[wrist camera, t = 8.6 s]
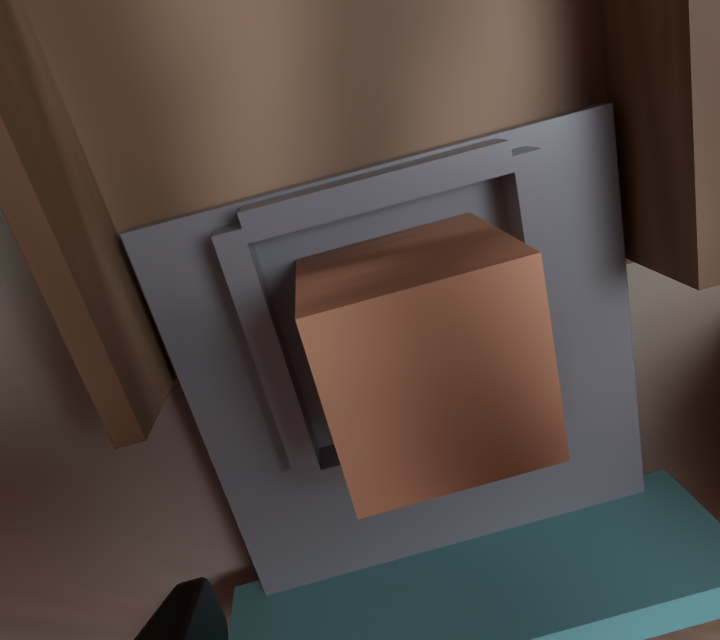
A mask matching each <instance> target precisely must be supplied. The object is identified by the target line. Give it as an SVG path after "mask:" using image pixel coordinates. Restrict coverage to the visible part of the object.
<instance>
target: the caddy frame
mask: <svg viewBox="0 0 720 640" xmlns="http://www.w3.org/2000/svg"><path fill="white" fill-rule="evenodd" d="M597 103H613V114H614V126H615V138H616V150H617V162H618V174H619V186H620V198H621V211H622V223H623V235H624V247H625V259H626V264H629V263H633V262H635V263H637V264H640V265H642V266H644V267H647V268H649V269H651V270H653V271H656V272H658V273H660V274H663V275H665V276H667V277H670V278H672V279H674V280H676V281H679V282H681V283H683V284H686V285H688V286H690V287H692V288H695V289H697V290H702V289H706V288H710V287H713V286H717V285H720V0H0V207H1V209H2V212H3V214H4V216H5V218H6V220H7V222H8V224H9V226H10V228H11V231H12V233H13V235H14V237H15V239H16V241H17V243H18V245H19V247H20V250H21V252H22V254H23V256H24V258H25V260H26V262H27V264H28V266H29V269H30V271H31V273H32V275H33V277H34V279H35V281H36V283H37V286H38V288H39V290H40V292H41V294H42V296H43V298H44V300H45V302H46V305H47V307H48V309H49V311H50V313H51V315H52V317H53V319H54V321H55V324H56V326H57V328H58V330H59V332H60V334H61V336H62V338H63V340H64V343H65V345H66V347H67V349H68V351H69V353H70V355H71V357H72V359H73V362H74V364H75V366H76V368H77V370H78V372H79V374H80V376H81V378H82V381H83V383H84V385H85V387H86V389H87V391H88V393H89V395H90V398H91V400H92V402H93V404H94V406H95V408H96V410H97V412H98V414H99V417H100V419H101V421H102V423H103V425H104V427H105V429H106V431H107V433H108V436H109V438H110V440H111V442H112V444H113V446H114V448H115V449H117V448H120V447H124V446H128V445H131V444H135V443H139V442H142V441H146V439H147V437H148V435H149V433H150V431H151V429H152V426H153V424H154V422H155V420H156V418H157V416H158V414H159V412H160V409H161V407H162V405H163V403H164V401H165V399H166V397H167V394H168V392H169V390H170V388H171V387H175V386H178V385H181V384H180V382H179V379H178V377H177V374H176V372H175V369H174V367H173V364H172V362H171V359H170V357H169V355H168V352H167V350H166V347H165V345H164V342H163V340H162V337H161V335H160V332H159V330H158V327H157V325H156V322H155V320H154V317H153V315H152V313H151V310H150V308H149V305H148V303H147V300H146V298H145V295H144V293H143V290H142V288H141V285H140V283H139V280H138V278H137V276H136V273H135V271H134V268H133V266H132V263H131V261H130V258H129V256H128V253H127V251H126V248H125V246H124V243H123V241H122V238H121V236H120V234H121V233H123V232H124V231H126V230H127V229H130V228H133V227H137V226H141V225H145V224H148V223H152V222H156V221H159V220H163V219H167V218H171V217H174V216H178V215H182V214H186V213H189V212H193V211H197V210H201V209H204V208H208V207H212V206H216V205H219V204H223V203H227V202H231V201H234V200H238V199H242V198H246V197H249V196H253V195H257V194H261V193H264V192H268V191H272V190H275V189H279V188H283V187H287V186H290V185H294V184H298V183H302V182H305V181H309V180H313V179H317V178H320V177H324V176H328V175H332V174H335V173H339V172H343V171H347V170H350V169H354V168H358V167H362V166H365V165H369V164H373V163H377V162H380V161H384V160H388V159H392V158H395V157H399V156H403V155H406V154H410V153H414V152H418V151H421V150H425V149H429V148H433V147H436V146H440V145H444V144H448V143H451V142H455V141H459V140H463V139H466V138H470V137H474V136H478V135H481V134H485V133H489V132H493V131H496V130H500V129H504V128H508V127H511V126H515V125H519V124H523V123H526V122H530V121H534V120H537V119H541V118H545V117H549V116H552V115H556V114H560V113H564V112H567V111H571V110H575V109H579V108H582V107H586V106H590V105H594V104H597Z"/></svg>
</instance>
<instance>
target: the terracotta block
mask: <svg viewBox="0 0 720 640" xmlns="http://www.w3.org/2000/svg"><path fill="white" fill-rule="evenodd" d="M295 321H296V324H297V327H298V330H299V333H300V337H301V340H302V343H303V346H304V349H305V352H306V356H307V359H308V362H309V365H310V368H311V372H312V375H313V378H314V381H315V384H316V388H317V391H318V394H319V397H320V400H321V404H322V407H323V410H324V413H325V416H326V420H327V423H328V426H329V429H330V432H331V435H332V439H333V442H334V445H335V448H336V451H337V455H338V458H339V461H340V464H341V467H342V471H343V474H344V477H345V480H346V483H347V487H348V490H349V493H350V496H351V499H352V502H353V506H354V509H355V512H356V515H357V518H358V519H362V518H365V517H369V516H373V515H376V514H380V513H383V512H387V511H391V510H394V509H398V508H402V507H405V506H409V505H412V504H416V503H420V502H423V501H427V500H430V499H434V498H438V497H441V496H445V495H448V494H452V493H456V492H459V491H463V490H467V489H470V488H474V487H477V486H481V485H485V484H488V483H492V482H495V481H499V480H503V479H506V478H510V477H513V476H517V475H521V474H524V473H528V472H531V471H535V470H539V469H542V468H546V467H550V466H553V465H557V464H560V463H564V462H568V461H570V455H569V448H568V441H567V433H566V426H565V419H564V412H563V405H562V398H561V391H560V384H559V376H558V369H557V362H556V355H555V348H554V341H553V334H552V326H551V319H550V312H549V305H548V298H547V291H546V284H545V277H544V269H543V262H542V255H541V252H540V251H538V250H536V249H534V248H532V247H531V246H529V245H527V244H525V243H524V242H522V241H520V240H518V239H516V238H515V237H513V236H511V235H509V234H508V233H506V232H504V231H502V230H501V229H499V228H497V227H495V226H493V225H492V224H490V223H488V222H486V221H485V220H483V219H481V218H479V217H477V216H476V215H474V214H472V213H470V212H468V213H464V214H461V215H457V216H453V217H450V218H446V219H442V220H438V221H435V222H431V223H427V224H424V225H420V226H416V227H413V228H409V229H405V230H402V231H398V232H394V233H391V234H387V235H383V236H380V237H376V238H372V239H369V240H365V241H361V242H358V243H354V244H350V245H347V246H343V247H339V248H336V249H332V250H328V251H325V252H321V253H317V254H314V255H310V256H306V257H302V258H299V259H296V298H295Z"/></svg>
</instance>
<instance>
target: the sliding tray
mask: <svg viewBox="0 0 720 640" xmlns="http://www.w3.org/2000/svg"><path fill="white" fill-rule="evenodd" d="M468 212H470V213H472V214H474V215H476V216H477V217H479V218H481V219H483V220H485V221H486V222H488V223H490V224H492V225H493V226H495V227H497V228H499V229H501V230H502V231H504V232H506V233H508V234H509V235H511V236H513V237H515V238H516V239H518V240H520V241H522V242H524V243H525V244H527V245H529V246H531V247H532V248H534V249H536V250H538V251H540V252H541V255H542V262H543V269H544V277H545V284H546V291H547V298H548V305H549V312H550V319H551V326H552V334H553V341H554V348H555V355H556V362H557V369H558V376H559V384H560V391H561V398H562V405H563V412H564V419H565V426H566V433H567V441H568V448H569V455H570V461H568V462H564V463H560V464H557V465H553V466H550V467H546V468H542V469H539V470H535V471H531V472H528V473H524V474H521V475H517V476H513V477H510V478H506V479H503V480H499V481H495V482H492V483H488V484H485V485H481V486H477V487H474V488H470V489H467V490H463V491H459V492H456V493H452V494H448V495H445V496H441V497H438V498H434V499H430V500H427V501H423V502H420V503H416V504H412V505H409V506H405V507H402V508H398V509H394V510H391V511H387V512H383V513H380V514H376V515H373V516H369V517H365V518H362V519H358V518H357V515H356V512H355V509H354V506H353V502H352V499H351V496H350V493H349V490H348V487H347V483H346V480H345V477H344V474H343V471H342V467H341V464H340V461H339V458H338V455H337V451H336V448H335V445H334V442H333V439H332V435H331V432H330V429H329V426H328V423H327V420H326V416H325V413H324V410H323V407H322V404H321V400H320V397H319V394H318V391H317V388H316V384H315V381H314V378H313V375H312V372H311V368H310V365H309V362H308V359H307V356H306V352H305V349H304V346H303V343H302V340H301V337H300V333H299V330H298V327H297V324H296V321H295V298H296V259H299V258H302V257H306V256H310V255H314V254H317V253H321V252H325V251H328V250H332V249H336V248H339V247H343V246H347V245H350V244H354V243H358V242H361V241H365V240H369V239H372V238H376V237H380V236H383V235H387V234H391V233H394V232H398V231H402V230H405V229H409V228H413V227H416V226H420V225H424V224H427V223H431V222H435V221H438V220H442V219H446V218H450V217H453V216H457V215H461V214H464V213H468ZM120 236H121V238H122V241H123V243H124V246H125V248H126V251H127V253H128V256H129V258H130V261H131V263H132V266H133V268H134V271H135V273H136V276H137V278H138V280H139V283H140V285H141V288H142V290H143V293H144V295H145V298H146V300H147V303H148V305H149V308H150V310H151V313H152V315H153V317H154V320H155V322H156V325H157V327H158V330H159V332H160V335H161V337H162V340H163V342H164V345H165V347H166V350H167V352H168V355H169V357H170V359H171V362H172V364H173V367H174V369H175V372H176V374H177V377H178V379H179V382H180V384H181V387H182V389H183V392H184V394H185V396H186V399H187V401H188V404H189V406H190V409H191V411H192V414H193V416H194V419H195V421H196V424H197V426H198V429H199V431H200V434H201V436H202V438H203V441H204V443H205V446H206V448H207V451H208V453H209V456H210V458H211V461H212V463H213V466H214V468H215V471H216V473H217V476H218V478H219V480H220V483H221V485H222V488H223V490H224V493H225V495H226V498H227V500H228V503H229V505H230V508H231V510H232V513H233V515H234V517H235V520H236V522H237V525H238V527H239V530H240V532H241V535H242V537H243V540H244V542H245V545H246V547H247V550H248V552H249V555H250V557H251V559H252V562H253V564H254V567H255V569H256V572H257V574H258V577H259V579H260V580H258V581H254V582H251V583H247V584H243V585H240V586H236V587H235V589H234V597H233V604H232V612H231V619H230V627H229V634H228V640H644V639H648V638H652V637H655V636H659V635H662V634H666V633H670V632H673V631H677V630H680V629H684V628H688V627H691V626H695V625H698V624H702V623H706V622H709V621H713V620H716V619H720V522H718V521H717V520H716V519H715V518H714V517H713V516H712V515H711V514H710V513H709V512H708V511H707V510H706V509H705V508H704V507H703V506H702V505H701V504H700V503H699V502H698V501H697V500H696V499H695V498H694V497H693V496H692V495H691V494H690V493H688V492H687V491H686V490H685V489H684V488H683V487H682V486H681V485H680V484H679V483H678V482H677V481H676V480H675V479H674V478H673V477H672V476H671V475H670V474H669V473H668V472H667V471H666V470H665V469H662V470H658V471H654V472H651V473H647V474H644V475H643V465H642V453H641V441H640V428H639V416H638V404H637V392H636V380H635V368H634V356H633V344H632V332H631V319H630V307H629V295H628V283H627V271H626V259H625V247H624V235H623V223H622V211H621V198H620V186H619V174H618V162H617V150H616V138H615V126H614V114H613V103H597V104H594V105H590V106H586V107H582V108H579V109H575V110H571V111H567V112H564V113H560V114H556V115H552V116H549V117H545V118H541V119H537V120H534V121H530V122H526V123H523V124H519V125H515V126H511V127H508V128H504V129H500V130H496V131H493V132H489V133H485V134H481V135H478V136H474V137H470V138H466V139H463V140H459V141H455V142H451V143H448V144H444V145H440V146H436V147H433V148H429V149H425V150H421V151H418V152H414V153H410V154H406V155H403V156H399V157H395V158H392V159H388V160H384V161H380V162H377V163H373V164H369V165H365V166H362V167H358V168H354V169H350V170H347V171H343V172H339V173H335V174H332V175H328V176H324V177H320V178H317V179H313V180H309V181H305V182H302V183H298V184H294V185H290V186H287V187H283V188H279V189H275V190H272V191H268V192H264V193H261V194H257V195H253V196H249V197H246V198H242V199H238V200H234V201H231V202H227V203H223V204H219V205H216V206H212V207H208V208H204V209H201V210H197V211H193V212H189V213H186V214H182V215H178V216H174V217H171V218H167V219H163V220H159V221H156V222H152V223H148V224H145V225H141V226H137V227H133V228H130V229H127V230H126V231H124V232H123V233H121V234H120Z"/></svg>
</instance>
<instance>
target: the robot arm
mask: <svg viewBox="0 0 720 640" xmlns="http://www.w3.org/2000/svg"><path fill="white" fill-rule="evenodd" d="M134 640H228V627H227V622H226V618H225V615H224V613H223V611H222V609H221V606H220V604H219V602H218V600H217V597H216V595H215V593H214V591H213V588H212V586H211V584H210V582H209V581H208V580H207V579H206V578H203V577H200V578H197V579H193V580H189V581H186V582H182V583H180V584H178V585H176V586H175V588H174V589H173V590H172V591H171V592H170V594H169V595H168V596H167V598H166V599H165V600H164V601H163V603H162V604H161V605H160V607H159V608H158V609H157V610H156V612H155V613H154V614H153V616H152V617H151V618H150V619H149V621H148V622H147V623H146V625H145V626H144V627H143V629H142V630H141V631H140V632H139V634H138V635H137V636H136V638H135V639H134Z"/></svg>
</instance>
